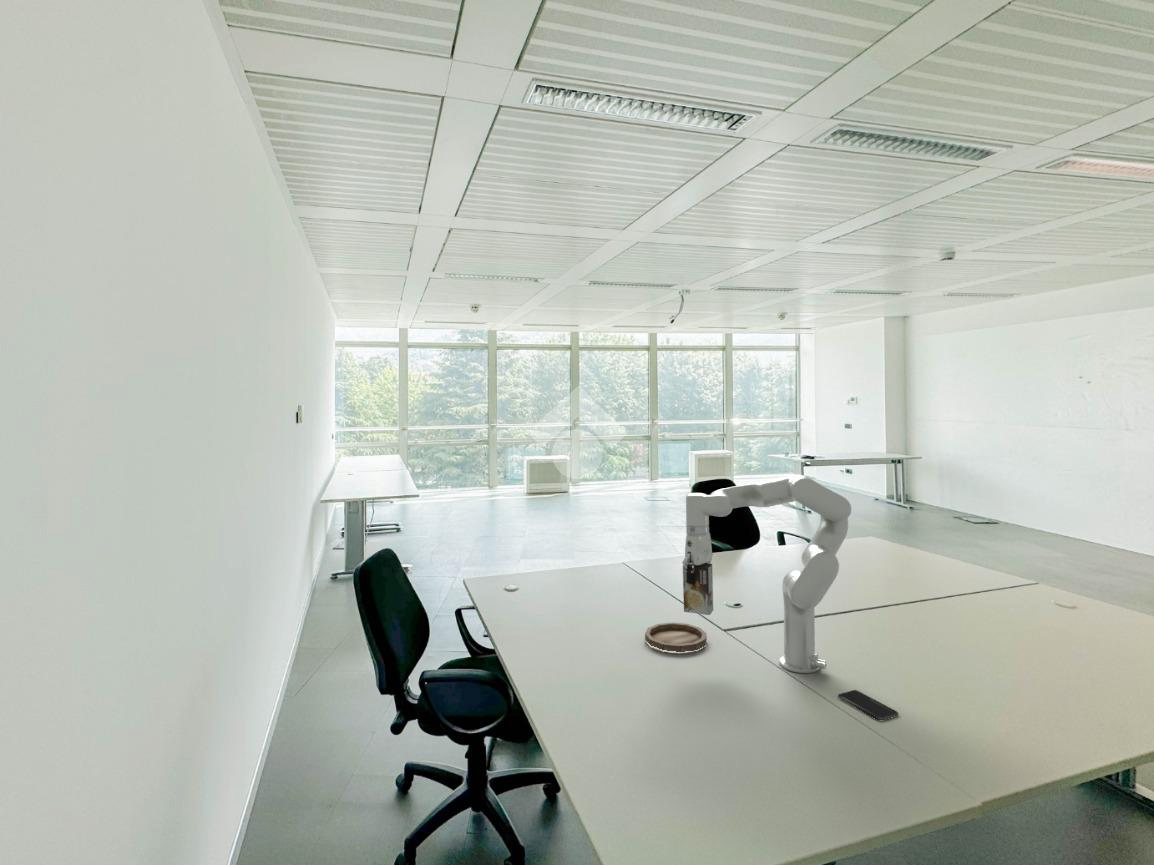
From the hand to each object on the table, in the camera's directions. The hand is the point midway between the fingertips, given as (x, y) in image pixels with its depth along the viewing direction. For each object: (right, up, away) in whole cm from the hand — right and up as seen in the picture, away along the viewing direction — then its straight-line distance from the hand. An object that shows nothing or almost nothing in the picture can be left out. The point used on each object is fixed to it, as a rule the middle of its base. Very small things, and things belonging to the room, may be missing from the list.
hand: (698, 580), depth 199 cm
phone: (+42, -29, -31) cm, 60 cm away
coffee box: (0, -11, 0) cm, 11 cm away
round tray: (-5, -27, +18) cm, 33 cm away
